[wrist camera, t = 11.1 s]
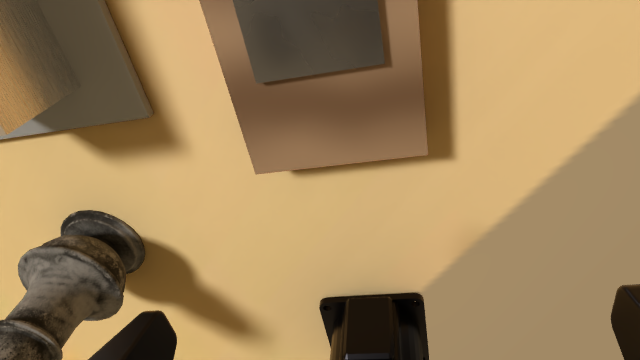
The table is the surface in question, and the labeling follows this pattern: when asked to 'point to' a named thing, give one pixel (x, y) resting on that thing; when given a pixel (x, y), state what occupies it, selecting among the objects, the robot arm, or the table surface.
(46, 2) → the rubber mat
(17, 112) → the lever cap
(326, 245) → the table surface
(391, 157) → the body
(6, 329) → the weathered candle holder
